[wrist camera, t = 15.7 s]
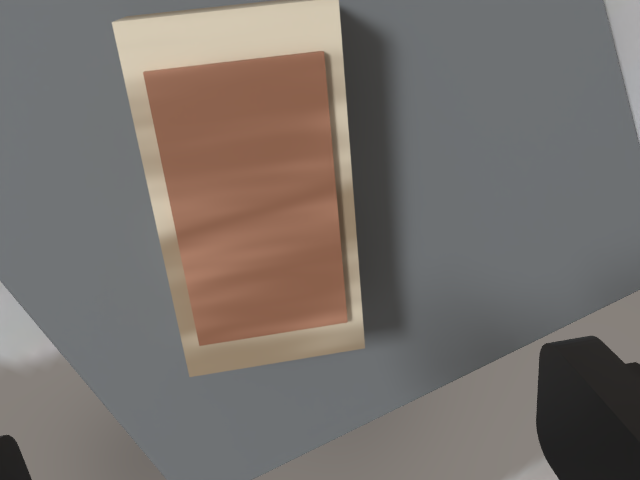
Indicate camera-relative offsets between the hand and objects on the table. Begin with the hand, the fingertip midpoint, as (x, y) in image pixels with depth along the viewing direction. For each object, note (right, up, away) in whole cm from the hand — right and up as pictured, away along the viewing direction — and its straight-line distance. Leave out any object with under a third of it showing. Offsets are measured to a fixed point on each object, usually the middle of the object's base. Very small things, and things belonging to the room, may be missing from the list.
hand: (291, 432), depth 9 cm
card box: (-1, -1, +14) cm, 14 cm away
